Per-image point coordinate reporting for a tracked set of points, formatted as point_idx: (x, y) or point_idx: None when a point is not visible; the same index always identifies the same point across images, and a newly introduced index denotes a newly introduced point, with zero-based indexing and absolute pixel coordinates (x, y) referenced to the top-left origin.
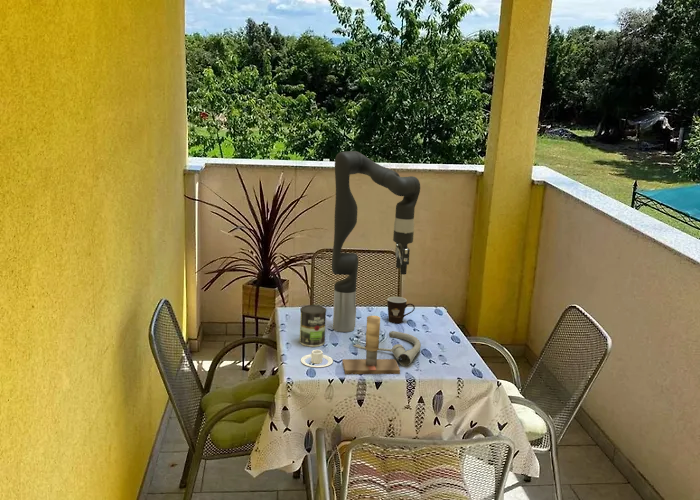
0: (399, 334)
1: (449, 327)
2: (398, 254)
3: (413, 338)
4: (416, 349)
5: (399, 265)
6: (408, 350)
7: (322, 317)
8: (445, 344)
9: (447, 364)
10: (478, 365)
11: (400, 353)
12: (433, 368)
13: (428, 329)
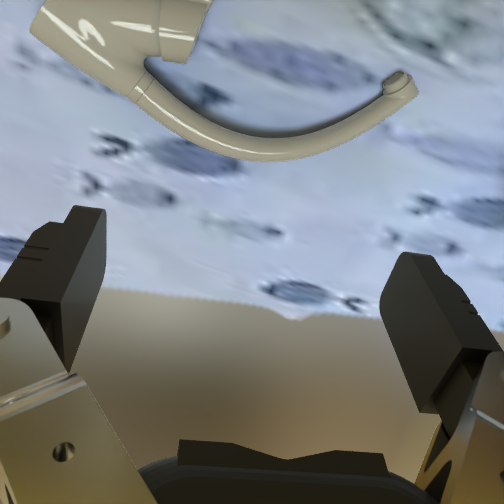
0: (367, 113)
1: None
2: (452, 445)
3: (277, 146)
4: (142, 108)
5: (400, 304)
6: (100, 56)
7: None
8: (262, 249)
9: (84, 190)
10: None
11: (75, 2)
12: (44, 126)
13: (409, 247)
